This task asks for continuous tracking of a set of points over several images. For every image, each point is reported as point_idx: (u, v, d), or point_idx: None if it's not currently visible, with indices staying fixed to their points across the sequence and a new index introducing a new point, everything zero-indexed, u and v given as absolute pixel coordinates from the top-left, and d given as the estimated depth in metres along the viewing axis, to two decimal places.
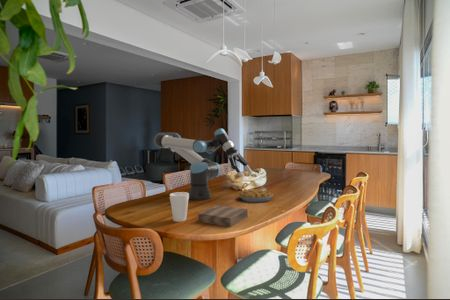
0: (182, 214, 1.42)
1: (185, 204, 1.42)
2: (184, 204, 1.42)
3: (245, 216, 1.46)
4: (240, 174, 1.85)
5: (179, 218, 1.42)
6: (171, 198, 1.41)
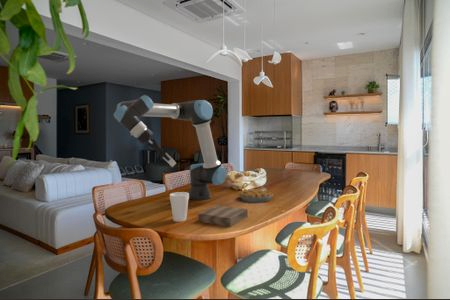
0: (182, 214, 1.42)
1: (185, 204, 1.42)
2: (184, 204, 1.42)
3: (245, 216, 1.46)
4: None
5: (179, 218, 1.42)
6: (171, 198, 1.41)
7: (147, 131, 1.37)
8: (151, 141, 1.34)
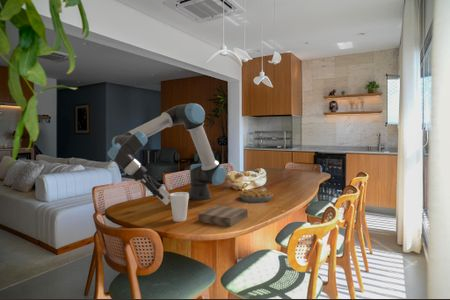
0: (182, 214, 1.42)
1: (185, 204, 1.42)
2: (184, 204, 1.42)
3: (245, 216, 1.46)
4: None
5: (179, 218, 1.42)
6: (171, 198, 1.41)
7: (141, 169, 1.37)
8: (144, 180, 1.34)
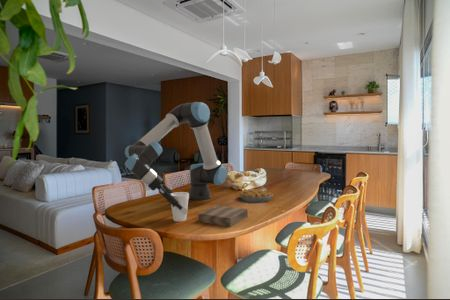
0: (182, 214, 1.42)
1: (185, 204, 1.42)
2: (184, 204, 1.42)
3: (245, 216, 1.46)
4: None
5: (179, 218, 1.42)
6: None
7: (157, 179, 1.39)
8: (163, 191, 1.36)
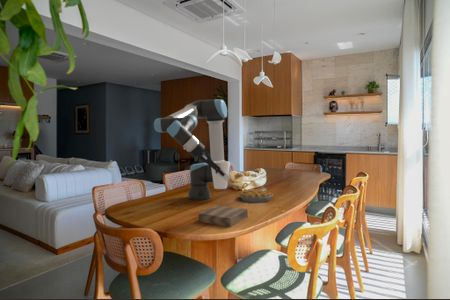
0: (224, 181, 1.41)
1: (227, 171, 1.41)
2: (226, 172, 1.40)
3: (245, 216, 1.46)
4: None
5: (221, 185, 1.41)
6: None
7: (200, 145, 1.38)
8: (206, 157, 1.35)
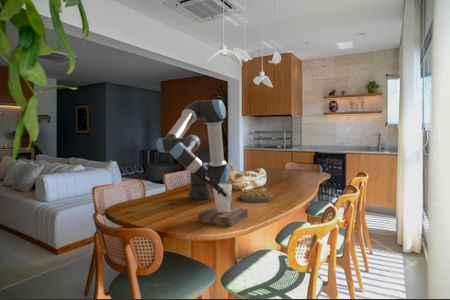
0: (226, 205, 1.42)
1: None
2: None
3: (245, 216, 1.46)
4: None
5: (224, 209, 1.42)
6: None
7: (203, 167, 1.39)
8: (208, 178, 1.36)
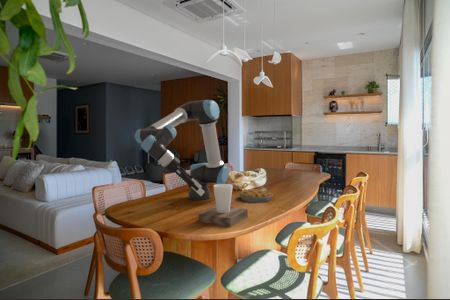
0: (227, 205, 1.42)
1: (229, 195, 1.42)
2: (229, 196, 1.42)
3: (245, 216, 1.46)
4: None
5: (224, 209, 1.42)
6: (216, 189, 1.41)
7: (175, 160, 1.36)
8: (179, 171, 1.33)
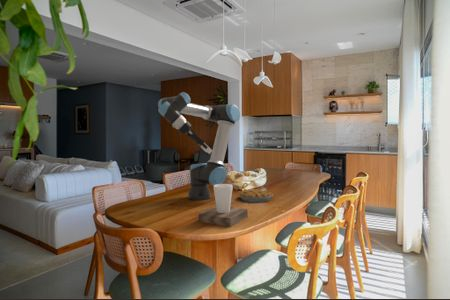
0: (227, 205, 1.42)
1: (229, 195, 1.42)
2: (229, 196, 1.42)
3: (245, 216, 1.46)
4: None
5: (224, 209, 1.42)
6: (216, 189, 1.41)
7: (187, 123, 1.59)
8: (191, 132, 1.55)
